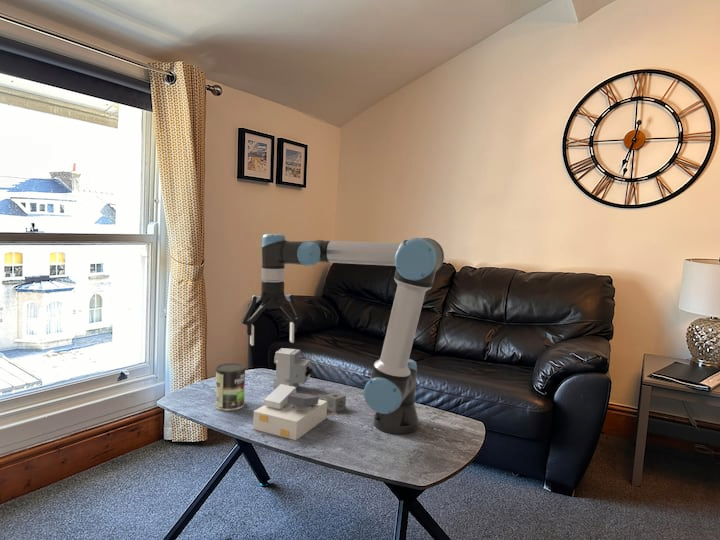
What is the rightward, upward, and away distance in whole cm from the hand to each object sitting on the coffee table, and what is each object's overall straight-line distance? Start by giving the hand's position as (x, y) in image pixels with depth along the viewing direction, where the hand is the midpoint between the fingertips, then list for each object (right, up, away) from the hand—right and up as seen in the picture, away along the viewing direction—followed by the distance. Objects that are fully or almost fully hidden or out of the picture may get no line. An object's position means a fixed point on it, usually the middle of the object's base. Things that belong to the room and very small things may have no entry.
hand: (272, 343), depth 166 cm
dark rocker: (+11, -19, -4) cm, 22 cm away
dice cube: (+21, -26, +13) cm, 36 cm away
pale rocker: (+3, -19, -1) cm, 19 cm away
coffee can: (-17, -24, +11) cm, 32 cm away
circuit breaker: (+3, -23, +32) cm, 39 cm away
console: (+7, -26, -2) cm, 27 cm away
